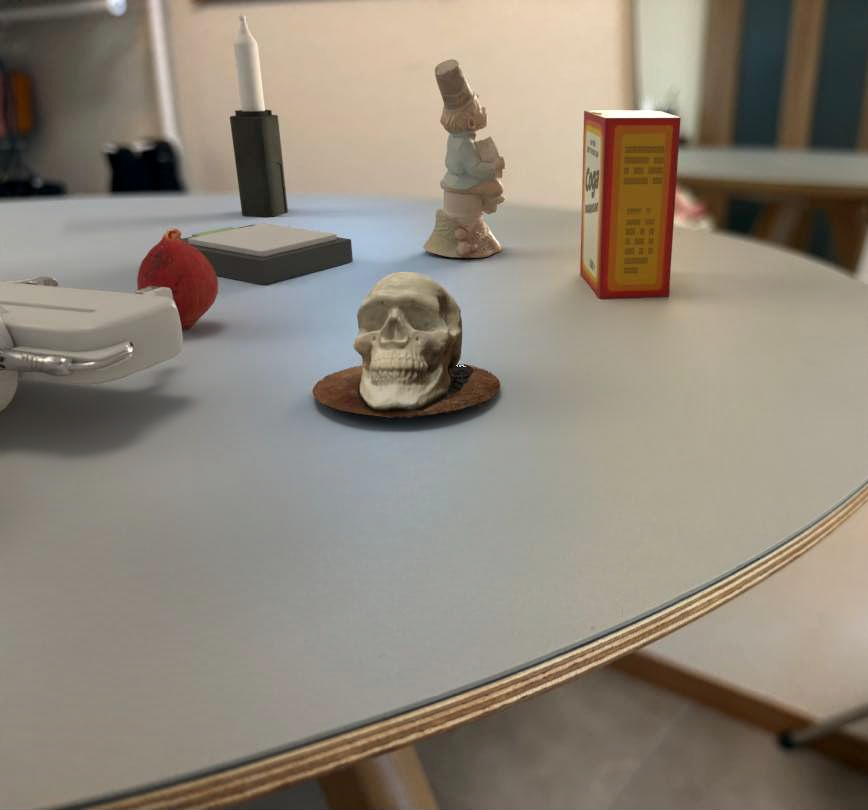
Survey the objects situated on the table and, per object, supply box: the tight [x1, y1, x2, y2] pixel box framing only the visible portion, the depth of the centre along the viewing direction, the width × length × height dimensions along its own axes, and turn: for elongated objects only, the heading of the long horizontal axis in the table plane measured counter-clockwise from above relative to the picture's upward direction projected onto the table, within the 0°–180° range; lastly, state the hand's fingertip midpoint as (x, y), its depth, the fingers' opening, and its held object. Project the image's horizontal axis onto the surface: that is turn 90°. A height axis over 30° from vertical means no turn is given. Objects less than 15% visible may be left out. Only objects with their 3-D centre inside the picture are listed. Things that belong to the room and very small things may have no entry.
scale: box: [181, 222, 354, 286], centre depth 89 cm, size 15×12×3 cm
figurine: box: [422, 58, 507, 259], centre depth 91 cm, size 9×8×20 cm
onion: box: [136, 227, 219, 330], centre depth 67 cm, size 6×6×8 cm
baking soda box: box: [579, 109, 682, 300], centre depth 79 cm, size 10×6×16 cm
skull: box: [312, 271, 501, 419], centre depth 55 cm, size 12×10×10 cm
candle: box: [229, 13, 289, 218], centre depth 112 cm, size 5×5×25 cm
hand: (106, 292), depth 60 cm, fingers open, 8 cm apart
